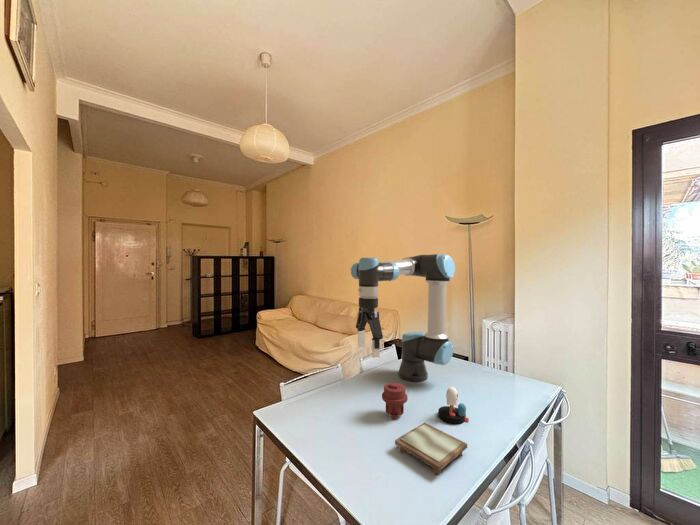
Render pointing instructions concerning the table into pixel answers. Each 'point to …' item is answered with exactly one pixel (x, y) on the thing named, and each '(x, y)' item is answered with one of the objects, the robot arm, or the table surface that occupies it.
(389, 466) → the table surface
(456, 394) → the figurine
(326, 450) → the table surface
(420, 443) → the stand
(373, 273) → the robot arm
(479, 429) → the table surface
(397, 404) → the mechanical component
